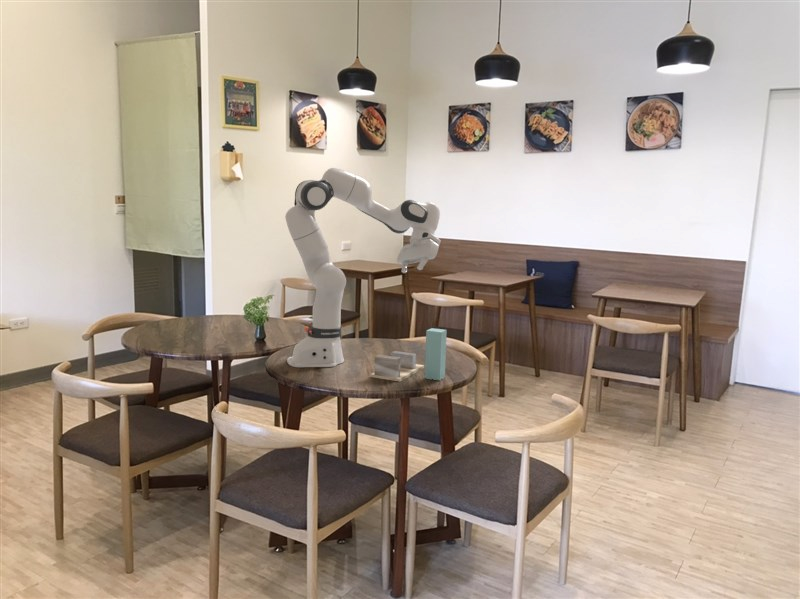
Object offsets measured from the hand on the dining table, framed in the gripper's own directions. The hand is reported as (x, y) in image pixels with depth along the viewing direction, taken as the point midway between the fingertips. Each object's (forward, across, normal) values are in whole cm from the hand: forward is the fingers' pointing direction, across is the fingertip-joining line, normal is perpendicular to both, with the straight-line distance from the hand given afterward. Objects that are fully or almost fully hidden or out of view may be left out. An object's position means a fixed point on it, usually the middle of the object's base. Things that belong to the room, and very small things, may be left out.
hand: (411, 270), depth 251 cm
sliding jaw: (+35, -2, +12) cm, 37 cm away
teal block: (+38, +12, +16) cm, 44 cm away
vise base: (+39, -1, +9) cm, 40 cm away
